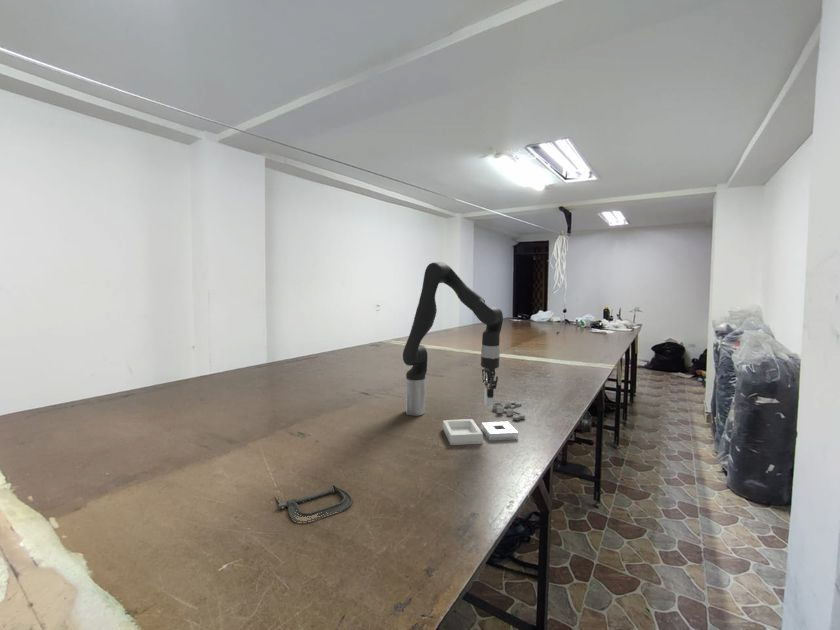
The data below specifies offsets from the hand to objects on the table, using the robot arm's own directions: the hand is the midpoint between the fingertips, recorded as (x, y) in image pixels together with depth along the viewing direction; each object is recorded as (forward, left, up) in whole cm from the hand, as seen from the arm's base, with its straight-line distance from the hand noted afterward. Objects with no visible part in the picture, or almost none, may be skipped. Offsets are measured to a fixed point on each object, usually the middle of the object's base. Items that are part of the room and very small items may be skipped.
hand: (488, 395), depth 158 cm
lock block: (+5, -1, -17) cm, 17 cm away
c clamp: (-65, -42, -17) cm, 79 cm away
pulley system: (+19, +27, -17) cm, 37 cm away
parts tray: (-11, -1, -17) cm, 20 cm away
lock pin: (0, 0, -4) cm, 4 cm away
